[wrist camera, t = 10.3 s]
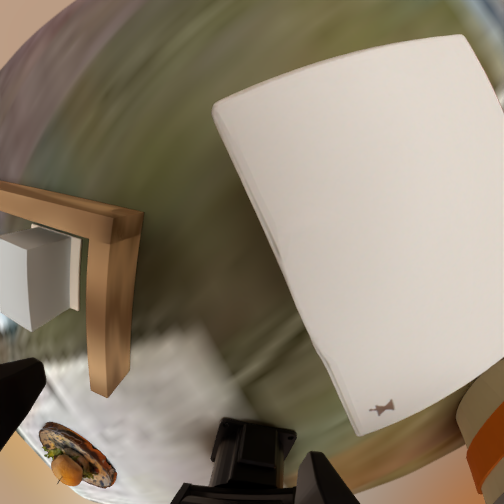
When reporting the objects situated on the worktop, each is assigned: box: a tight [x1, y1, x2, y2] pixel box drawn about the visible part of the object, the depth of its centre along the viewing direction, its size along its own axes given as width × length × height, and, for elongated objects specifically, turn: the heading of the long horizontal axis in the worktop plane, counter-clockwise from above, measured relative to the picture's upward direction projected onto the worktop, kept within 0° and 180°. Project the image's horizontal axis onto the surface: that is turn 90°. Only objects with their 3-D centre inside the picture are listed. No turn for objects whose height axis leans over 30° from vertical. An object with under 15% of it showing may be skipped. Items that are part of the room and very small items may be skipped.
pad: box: [31, 224, 82, 311], centre depth 20 cm, size 6×6×1 cm
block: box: [0, 227, 72, 332], centre depth 17 cm, size 4×6×5 cm, turn 167°
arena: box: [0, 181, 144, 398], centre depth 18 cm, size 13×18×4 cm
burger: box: [39, 422, 117, 489], centre depth 22 cm, size 12×12×8 cm
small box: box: [211, 34, 504, 436], centre depth 11 cm, size 8×6×13 cm
